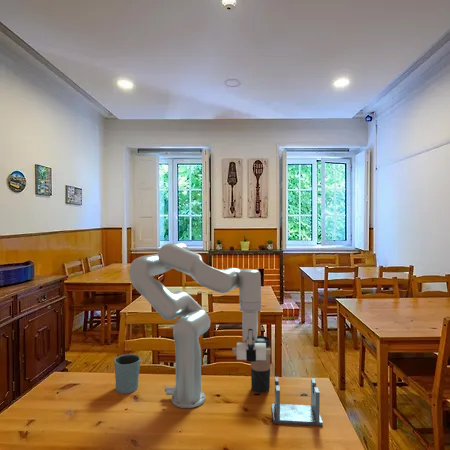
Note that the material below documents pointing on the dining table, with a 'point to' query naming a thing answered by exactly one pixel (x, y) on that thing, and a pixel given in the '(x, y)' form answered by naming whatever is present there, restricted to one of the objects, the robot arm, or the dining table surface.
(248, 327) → the robot arm
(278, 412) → the roll holder
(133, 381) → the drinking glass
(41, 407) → the dining table surface
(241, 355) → the paper roll
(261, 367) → the travel mug
